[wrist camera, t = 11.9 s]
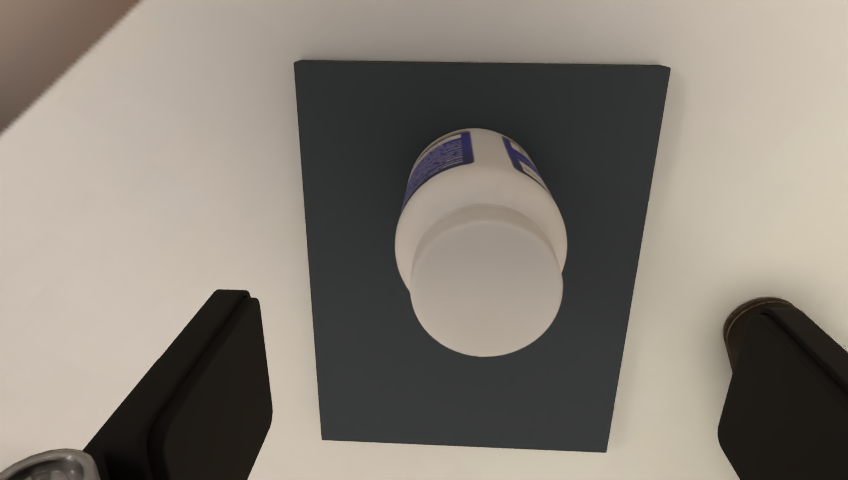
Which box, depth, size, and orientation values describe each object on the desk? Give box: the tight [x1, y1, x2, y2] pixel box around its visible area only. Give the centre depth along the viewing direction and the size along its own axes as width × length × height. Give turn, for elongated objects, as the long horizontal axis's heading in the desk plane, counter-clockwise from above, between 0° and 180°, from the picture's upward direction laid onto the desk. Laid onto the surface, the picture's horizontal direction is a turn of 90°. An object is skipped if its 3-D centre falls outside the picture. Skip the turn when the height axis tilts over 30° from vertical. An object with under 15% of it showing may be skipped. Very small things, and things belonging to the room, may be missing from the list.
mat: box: [294, 60, 670, 453], centre depth 25 cm, size 18×14×1 cm
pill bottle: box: [395, 128, 567, 357], centre depth 19 cm, size 5×5×9 cm
